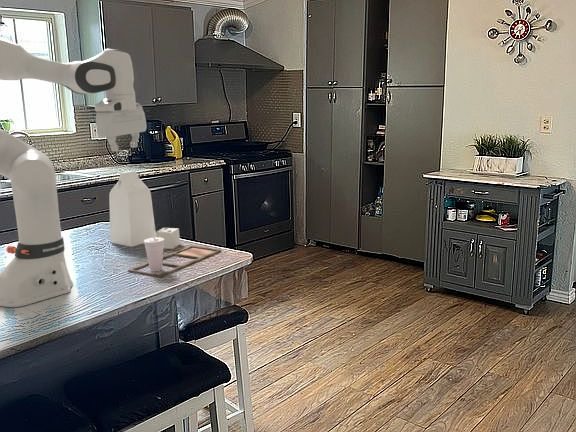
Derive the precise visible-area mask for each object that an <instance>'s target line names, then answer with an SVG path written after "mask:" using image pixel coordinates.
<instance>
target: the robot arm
mask: <svg viewBox="0 0 576 432" xmlns="http://www.w3.org/2000/svg"><path fill="white" fill-rule="evenodd" d="M24 79H25V80H26V79H30V80H31V79H32V80H38V81H45V82H49V83H54V84H57V85H61V86H63V87H65V88H66V89H67V90H68V91H69V90H70V91H71V92H73V93H74V94H77V95H78V94H79V95H94V94H99V93H101V92H104V95H105V98H103V99H102V100H100V101H99V102H97V103H95V104H94V110H95V112H96V115H95V127H96V133H97V135H98V137H99V138H106V140H107V142H108V144H109V145H110V150H111V152H118V151H119V150H120V149H119V148H120V147H119V144H117V143H116V142H117V137H119V136H125V135H130V136H131V141H130V142H129V145H130V148H133V149H134V148H138V142H139V139H140V133H143V132H144V133H145V132H146V131H147V127H148V126H147V120H146V114H145V111H144V109H143V106H142V105H141V103H140V102H136V91H135V88H134V81H135V76H134V67H133V62H132V58H131V55H130V54H129V53H128V52H126V51H125V50H121V49H117V48H104V49H103V51H102V52H100V53H98V54H97V55H95V56H92V57H91V58H89V59H86V60H75V61H72V62H71V61H70V62H59V61H55V60H50V59H46V58H42V57H38V56H36V55H33V54H31V53H30V52H28V51H27V50H26V49H25V48H24V47H22V46H21V45H20V44H19V43H15V42H13V41H11V40H8V39H5V38H1V37H0V81H19V80H24ZM0 175H1V177H4V178H6V179H8V180H10V185H11V191H12V198H13V207H14V211H15V220H16V227H17V235H18V242H17V245H16V246H12V245H8V246H7V247H6V248H5V250H6V253H8V254H14V258H13V259H12V260H11V261H10V262H9V263H8V264H7V266H6V267H4V269H3V270H2V271H1V272H0V307H6V308H7V307H8V308H20V307H24V306H27V305H31V304H33V303H39V302H40V301H45V300H47V299H52V298H54V297H57V296H61V295H64V294H67V293H70V292H71V288H72V287H73V284H74V283H73V281H72V278H71V276H70V272H69V269H68V266H67V263H66V257H65V242H64V237H63V236H62V228H61V220H60V210H59V197H58V187H57V176H56V170H55V167H54V165H53V163H52V161H51V159H50V157H49V156H47V154H46V153H44V152H42V151H40V150H38V149H37V148H35V147H34V146H32V145H30V144H28V143H27V142H25V141H23V140H22V139H20V138H18V137H16V136H14V135H13V134H11V133H8V131H6V130H4V129H2V128H0Z"/></svg>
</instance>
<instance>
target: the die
mask: <svg viewBox="0 0 576 432" xmlns="http://www.w3.org/2000/svg"><path fill="white" fill-rule="evenodd" d="M156 237H161V238H164V241H165V242H164V245H163V249H166V250H167V249H168V250H169V249H170V250H171V249H172V250H173V249H175V248H176V247H178V246H180V244H181V240H180V228H177V227H176V228H175V227H171V228H170V227H162V228H161V229H159V230H157V231H156Z"/></svg>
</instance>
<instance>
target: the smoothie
mask: <svg viewBox="0 0 576 432" xmlns="http://www.w3.org/2000/svg"><path fill="white" fill-rule="evenodd" d="M155 231H156V226H155V227H154V225H153V237H152V238H147V239H145V240H144V243H143V245H144V248H145V253H146V258H147V262H148V263H149V265H148V268H149V271H150V272H153V271H154V272H155V271H156V272H161V271H162V270H163V265H162V263H163V262H164V261H163V260H164V259H163V256H164V248H163V245H164V242H165V241H164V238H161V237H155ZM160 270H161V271H160Z"/></svg>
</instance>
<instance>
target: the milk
mask: <svg viewBox="0 0 576 432" xmlns="http://www.w3.org/2000/svg"><path fill="white" fill-rule="evenodd" d="M118 177H119V178H118V181H117V182H116V183H115V185H113V187H112V188H111V190H110V192H109V195H108V197H109V200H108V201H109V234H110V236H109V238H110V240H109V241H110V243H111V244H116V245H121V246H126V247H130V248H131V247H135V246H138V245H142V244H144V240H145V239H147V238H152V237H153V225H154V227H155V228H156V225H155V217H154V216H155V215H154V208H153V201H152V193H151V191H150V188H149V187H148V186H147V185H146V183H144V181H143V180H142V179H141V178H140V177H139V176H138V174H137V171H136V170H129V171H122V172H120V174H119V176H118ZM156 232H157V231H156V230H155V237H156Z"/></svg>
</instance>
